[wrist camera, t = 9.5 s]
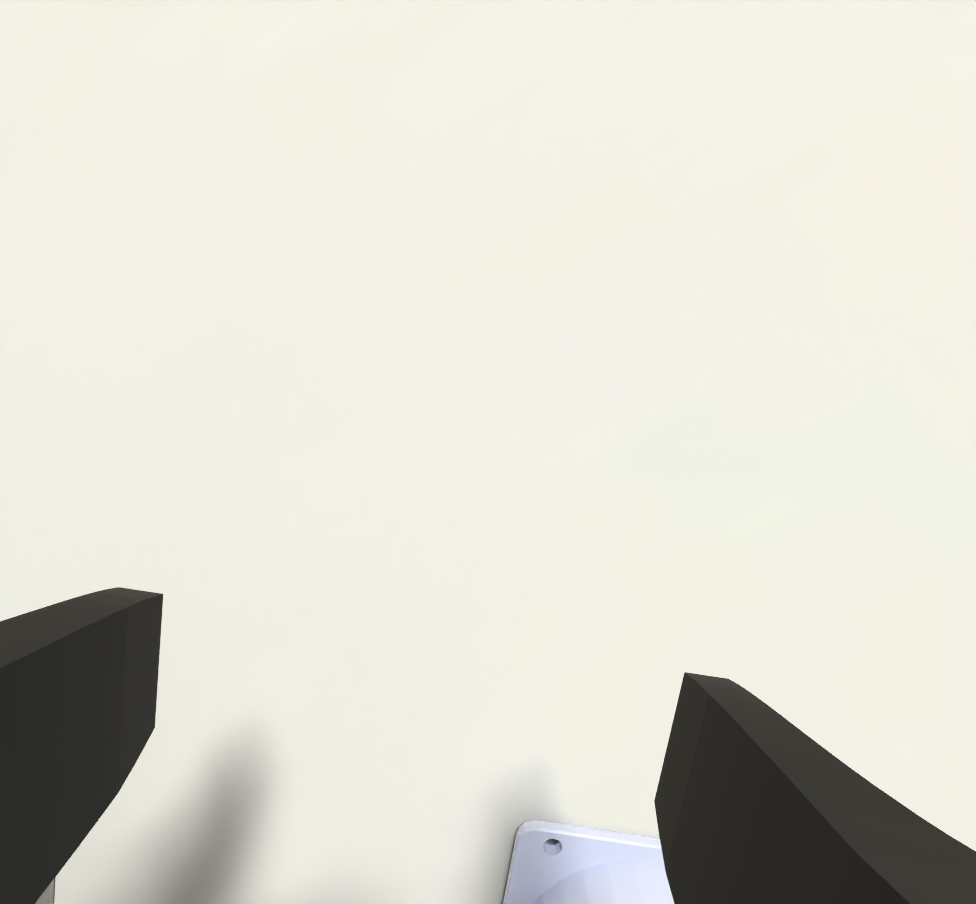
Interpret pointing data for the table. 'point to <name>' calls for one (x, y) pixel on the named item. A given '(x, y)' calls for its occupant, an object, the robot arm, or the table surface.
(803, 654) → the table surface
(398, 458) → the table surface
